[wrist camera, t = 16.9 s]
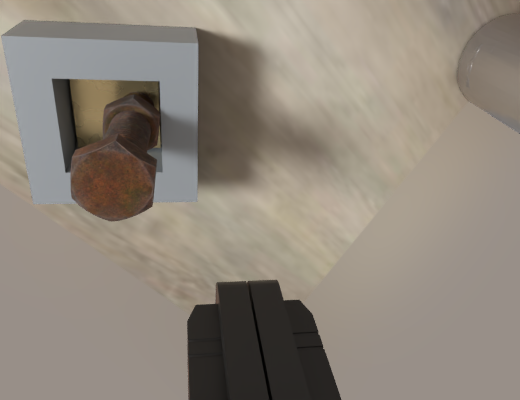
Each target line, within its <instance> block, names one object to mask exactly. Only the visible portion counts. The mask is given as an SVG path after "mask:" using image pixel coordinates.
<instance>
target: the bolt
mask: <svg viewBox="0 0 520 400" xmlns="http://www.w3.org/2000/svg"><path fill="white" fill-rule="evenodd" d="M160 114H161V112H159V111H158V110H157V109H156V108H155V106H154V103H153V101H152V99H151V98H150V97H149V96H148V95H146V94H144V93H139V94H138V92H130V93H129V94H127V95H126V96H124V97H123V98H120V99H118V100H115V101H113V102H111V103H109V104H107V105H106V106H105V108H104V113H103V140H100V141H98V142H95V143H92V144H90V145H87V146H84V147H82V148H79V149H77V150H75V152H74V154H73V156H72V161H71V174H70V181H71V197H72V199H73V200H74V201H75V202H76V203H77V204H78V205H80V206H81V207H82V208H84V209H85V210H86V211H88V212H90V213H91V214H93V215H95V216H97V217H100V218H102V219H105V220H108V221H119V220H123V219H127V218H130V217H133V216H136V215H138V214H140V213H142V212H144V211H146V210H147V209H149V208H151V207H152V205H153V199H154V188H155V178H156V167H157V159H155V158H154V157H152V156H151V155H149V154H148V153H147V150H150V149H152V148H154V147H155V146H157V143H158V136H159V126H160Z"/></svg>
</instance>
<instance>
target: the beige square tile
mask: <svg viewBox="0 0 520 400" xmlns="http://www.w3.org/2000/svg"><path fill="white" fill-rule="evenodd" d="M69 80H70V88H71V96H72V104H73V111H74V119H75V127H76V135H77V142H78V148H82V147H84V146H87V145H90V144H92V143H95V142H98V141H100V140H103V113H104V108H105V106H106V105H107V104H109V103H111V102H113V101H115V100H118V99H120V98H123V97H124V96H126V95H127V94H129V93H130V92H138V94H139V93H144V94H146V95H148V96H149V97H150V98H151V99H152V101H153V103H154V106H155V108H156V109H157V110H158V111H159V112H160V100H159V81H129V80H90V79H69ZM154 148H161V128H160V126H159V136H158V143H157V146H155V147H154Z"/></svg>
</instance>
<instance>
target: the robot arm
mask: <svg viewBox="0 0 520 400" xmlns="http://www.w3.org/2000/svg"><path fill="white" fill-rule="evenodd" d="M458 83H459V87H460V90H461V92H462V93H463V95H464V97H465V98H466V99H467V100H468V101H469V102H471V103H473V104H474V105H476V106H477V107H479V108H480V109H482V110H484V111H485V112H487V113H488V114H490V115H491V116H492V117H494V118H496V119H497V120H499V121H500V122H502V123H503V124H505V125H507V126H508V127H510V128H511V129H513V130H514V131H516V132H518V133H519V134H520V14H508V15H503V16H501V17H498V18H496V19H493V20H492V21H490V22H489V23H487V24H485V25H484V26H483V27H482V28H481V29H480V30H478V31H477V32H476V33H475V34H474V36H473V37H472V38H471V39H470V41H469V42H468V44H467V45H466V47H465V49H464V51H463V53H462V56H461V58H460V61H459V66H458ZM187 329H188V330H187V332H188V333H187V334H188V397H189V400H341V397H340V394H339V391H338V388H337V385H336V383H335V379H334V376H333V374H332V371H331V368H330V365H329V362H328V359H327V356H326V353H325V350H324V349H323V344H322V341H321V338H320V335H318V330H317V326H316V324H315V320H314V318H313V315H312V313H311V312H310V311H309V310H308V309H307V308H306V307H305V306H304V305H303V303H302V302H301V301H300V300H285V301H284V300H283V297H282V293H281V290H280V286H279V283H278V281H277V280H260V281H248V282H246V281H239V282H217V283H216V302H215V304H206V305H196V306H195V308H194V309H193V311H192V313H191V315H190V317H189V319H188V321H187Z"/></svg>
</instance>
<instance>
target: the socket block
mask: <svg viewBox="0 0 520 400" xmlns="http://www.w3.org/2000/svg"><path fill="white" fill-rule="evenodd" d="M1 38H2V43H3V48H4V53H5V59H6V64H7V69H8V74H9V79H10V85H11V90H12V95H13V100H14V105H15V111H16V116H17V121H18V126H19V131H20V137H21V142H22V147H23V152H24V158H25V163H26V168H27V173H28V178H29V184H30V189H31V194H32V199H33V204H72V203H76V202H75V201H74V200H73V199H72V197H71V181H70V174H71V161H72V156H73V154H74V152H75V150H77V149H79V148H78V142H77V135H76V127H75V119H74V111H73V104H72V96H71V88H70V80H69V79H90V80H129V81H160V109H161V138H162V144H161V148H152V149H150V150H147V153H148V154H149V155H151V156H152V157H154V158H155V159H157V167H156V178H155V188H154V199H153V202H197V183H198V38H197V32H196V28H189V27H166V26H144V25H121V24H98V23H76V22H53V21H31V20H23V21H22V22H21V23H19V24H18V25H16V26H15V27H13V28H12V29H10V30H9V31H7V32H6V33H5V34H3V35H2V36H1Z"/></svg>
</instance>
